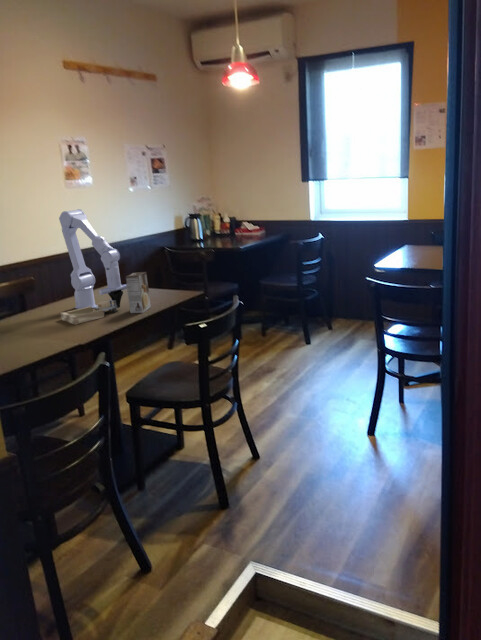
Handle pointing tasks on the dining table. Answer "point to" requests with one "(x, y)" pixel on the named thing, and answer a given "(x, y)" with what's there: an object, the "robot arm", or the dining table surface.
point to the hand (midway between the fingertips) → (117, 307)
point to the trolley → (107, 306)
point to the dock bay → (81, 315)
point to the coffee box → (138, 292)
